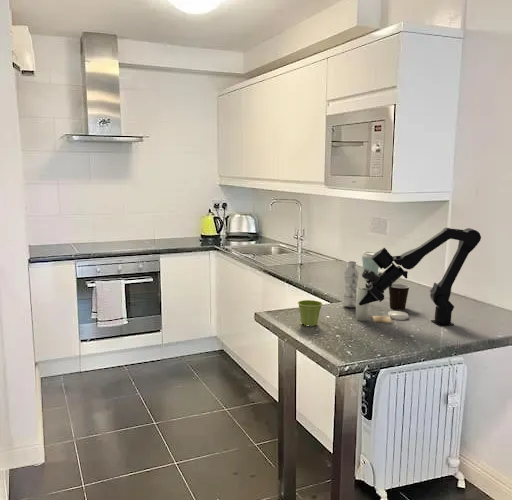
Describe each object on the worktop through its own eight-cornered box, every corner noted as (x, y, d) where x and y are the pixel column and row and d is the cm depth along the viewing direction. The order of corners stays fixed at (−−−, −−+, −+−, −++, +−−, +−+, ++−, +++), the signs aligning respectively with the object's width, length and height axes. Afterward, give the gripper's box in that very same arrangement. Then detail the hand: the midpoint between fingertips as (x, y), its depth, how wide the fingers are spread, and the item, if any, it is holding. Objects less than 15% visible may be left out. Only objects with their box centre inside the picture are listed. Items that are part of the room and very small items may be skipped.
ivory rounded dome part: (411, 319, 209) (411, 315, 209) (393, 320, 208) (393, 316, 207) (401, 314, 217) (402, 310, 217) (384, 314, 215) (384, 311, 215)
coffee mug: (392, 304, 232) (393, 282, 231) (410, 308, 227) (412, 285, 225) (380, 309, 223) (382, 287, 222) (399, 313, 218) (401, 290, 216)
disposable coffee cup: (379, 277, 291) (381, 251, 288) (380, 281, 280) (382, 254, 278) (360, 276, 292) (361, 250, 290) (360, 280, 282) (362, 253, 280)
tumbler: (370, 320, 207) (371, 290, 205) (358, 321, 206) (360, 290, 204) (364, 316, 212) (366, 287, 210) (353, 317, 211) (354, 287, 209)
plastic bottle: (340, 308, 225) (343, 262, 221) (343, 304, 231) (345, 260, 228) (355, 309, 222) (358, 264, 219) (358, 306, 229) (360, 261, 226)
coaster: (389, 318, 211) (389, 316, 211) (391, 323, 204) (391, 321, 204) (372, 317, 212) (372, 315, 212) (373, 322, 205) (373, 320, 205)
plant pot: (296, 320, 204) (297, 299, 203) (320, 321, 204) (321, 300, 203) (297, 328, 195) (298, 305, 194) (322, 328, 195) (323, 306, 194)
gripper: (372, 258, 214) (344, 283, 217) (377, 266, 195) (346, 293, 198) (390, 278, 214) (362, 302, 217) (397, 288, 196) (366, 314, 199)
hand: (358, 302), depth 208 cm, fingers closed on tumbler, 5 cm apart
